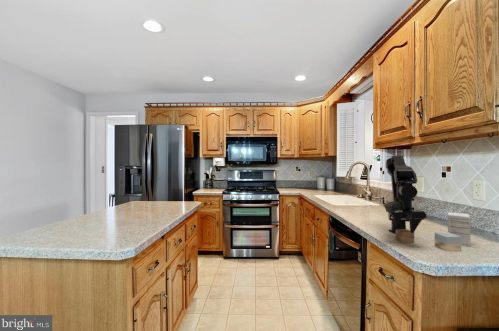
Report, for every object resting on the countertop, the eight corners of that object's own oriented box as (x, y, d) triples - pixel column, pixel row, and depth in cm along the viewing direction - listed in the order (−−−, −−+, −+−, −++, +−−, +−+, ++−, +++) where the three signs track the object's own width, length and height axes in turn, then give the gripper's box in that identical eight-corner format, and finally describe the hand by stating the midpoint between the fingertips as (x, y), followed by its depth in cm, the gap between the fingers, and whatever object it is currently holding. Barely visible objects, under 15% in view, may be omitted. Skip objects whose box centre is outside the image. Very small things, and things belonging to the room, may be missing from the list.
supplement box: (447, 239, 111) (447, 211, 111) (469, 242, 106) (469, 213, 106) (448, 243, 105) (447, 214, 105) (470, 246, 101) (470, 216, 101)
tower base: (434, 246, 102) (434, 239, 102) (448, 246, 102) (448, 239, 102) (446, 251, 96) (446, 244, 96) (461, 251, 96) (461, 244, 96)
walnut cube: (395, 240, 111) (395, 229, 111) (406, 239, 111) (406, 229, 111) (403, 243, 106) (403, 232, 106) (414, 243, 106) (414, 232, 106)
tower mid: (434, 239, 102) (434, 232, 102) (448, 239, 102) (448, 232, 102) (446, 244, 96) (446, 237, 96) (461, 244, 96) (461, 236, 96)
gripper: (375, 193, 117) (375, 225, 117) (401, 199, 99) (402, 236, 99) (396, 193, 118) (397, 224, 118) (427, 198, 99) (427, 235, 99)
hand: (404, 230), depth 108 cm, fingers open, 9 cm apart
